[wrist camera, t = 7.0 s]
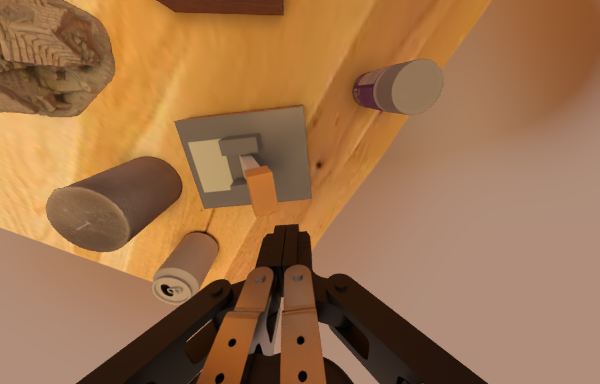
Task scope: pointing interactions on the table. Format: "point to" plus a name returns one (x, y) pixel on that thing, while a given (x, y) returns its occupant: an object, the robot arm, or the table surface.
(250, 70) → the table surface
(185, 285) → the can
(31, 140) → the table surface
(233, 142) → the box
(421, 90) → the container
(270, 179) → the breaker lever
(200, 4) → the tissue box cover
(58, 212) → the pillar candle
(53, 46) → the ceramic cottage
